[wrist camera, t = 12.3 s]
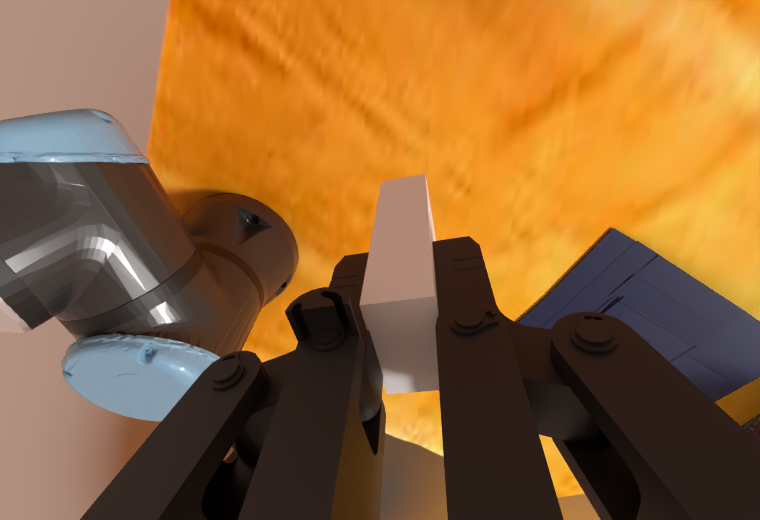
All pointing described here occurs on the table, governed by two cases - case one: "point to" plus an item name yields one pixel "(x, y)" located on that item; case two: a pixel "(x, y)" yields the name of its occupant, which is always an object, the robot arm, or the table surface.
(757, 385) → the table surface
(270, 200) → the table surface
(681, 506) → the robot arm
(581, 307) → the dark blue flat slab
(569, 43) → the table surface
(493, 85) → the table surface
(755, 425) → the black coffee bag
